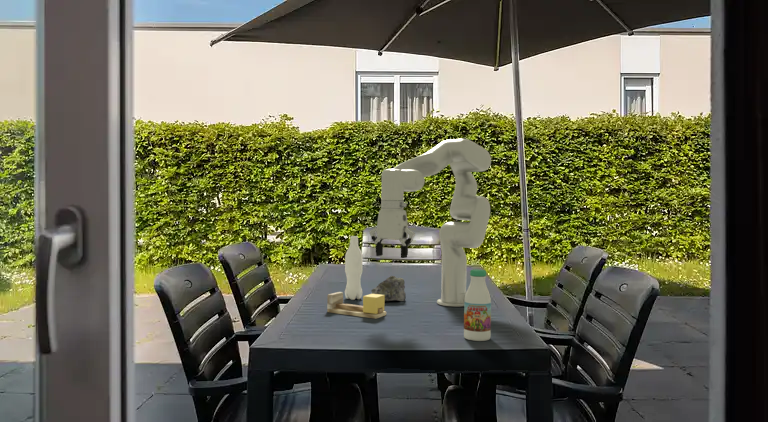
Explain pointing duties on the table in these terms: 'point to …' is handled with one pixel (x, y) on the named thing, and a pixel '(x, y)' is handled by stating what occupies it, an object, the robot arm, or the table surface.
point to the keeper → (373, 303)
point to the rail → (356, 313)
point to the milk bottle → (477, 308)
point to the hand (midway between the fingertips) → (391, 256)
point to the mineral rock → (391, 289)
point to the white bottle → (353, 270)
